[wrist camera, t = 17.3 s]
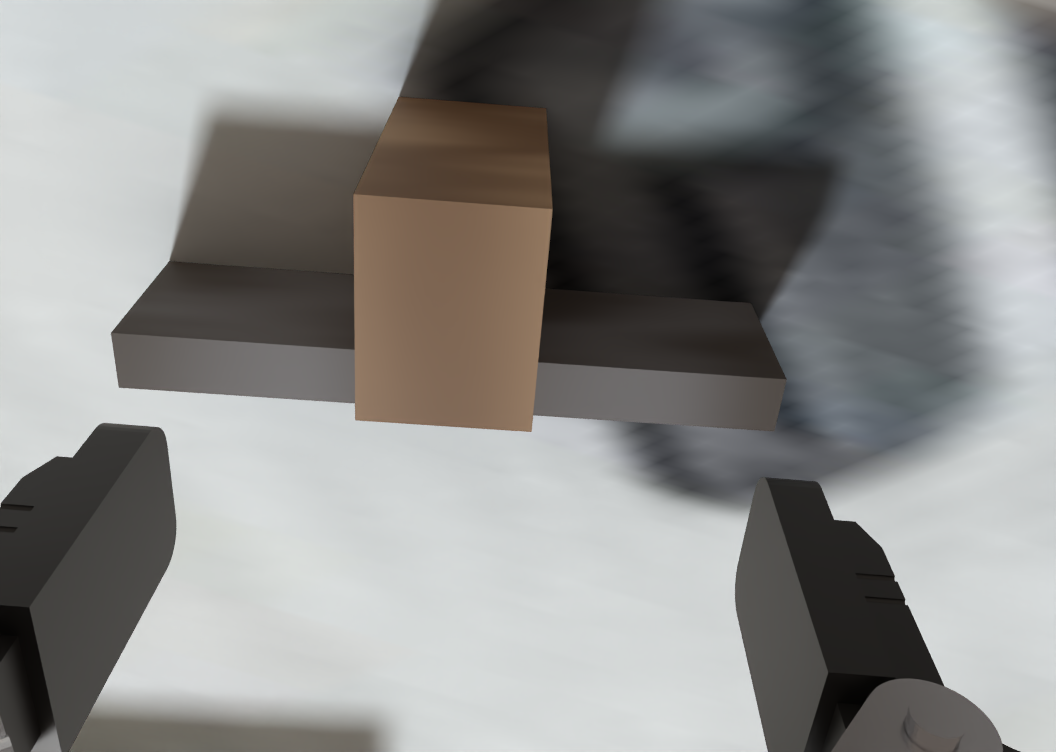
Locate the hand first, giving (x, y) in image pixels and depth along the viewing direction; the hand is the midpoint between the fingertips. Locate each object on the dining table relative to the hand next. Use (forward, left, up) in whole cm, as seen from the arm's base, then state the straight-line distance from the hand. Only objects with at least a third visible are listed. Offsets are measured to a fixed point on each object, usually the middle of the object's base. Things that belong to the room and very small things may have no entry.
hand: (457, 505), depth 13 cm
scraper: (0, -1, -9) cm, 9 cm away
